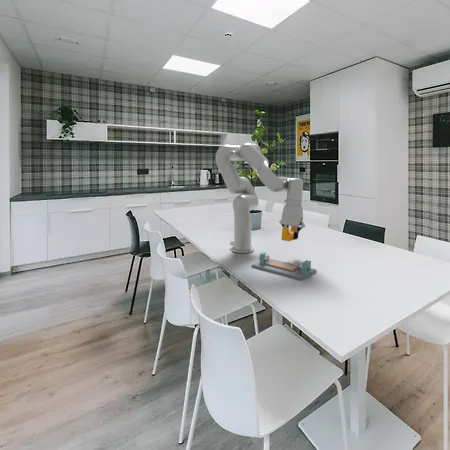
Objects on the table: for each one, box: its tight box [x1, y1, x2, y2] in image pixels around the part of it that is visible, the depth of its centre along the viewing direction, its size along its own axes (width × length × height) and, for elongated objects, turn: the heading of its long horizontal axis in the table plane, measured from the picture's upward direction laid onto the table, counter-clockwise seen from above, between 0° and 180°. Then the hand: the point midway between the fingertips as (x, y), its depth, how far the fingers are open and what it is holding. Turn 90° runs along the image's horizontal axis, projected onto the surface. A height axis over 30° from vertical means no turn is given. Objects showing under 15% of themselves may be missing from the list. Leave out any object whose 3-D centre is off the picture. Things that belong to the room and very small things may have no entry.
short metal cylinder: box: [258, 254, 271, 262], centre depth 148 cm, size 4×3×3 cm, turn 73°
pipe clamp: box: [281, 226, 295, 242], centre depth 157 cm, size 12×4×6 cm, turn 141°
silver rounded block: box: [296, 262, 310, 271], centre depth 135 cm, size 4×3×3 cm, turn 48°
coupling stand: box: [251, 251, 317, 281], centre depth 142 cm, size 26×14×6 cm, turn 48°
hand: (290, 237), depth 158 cm, fingers closed on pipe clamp, 4 cm apart
